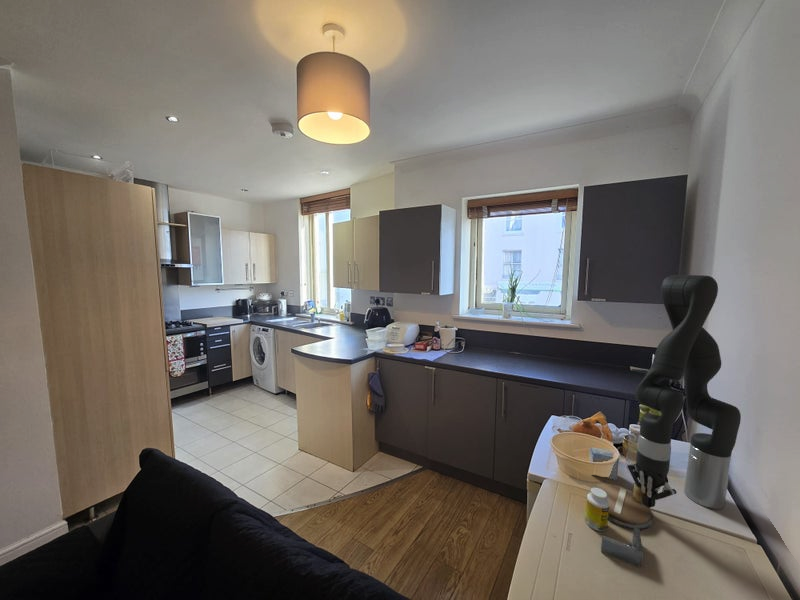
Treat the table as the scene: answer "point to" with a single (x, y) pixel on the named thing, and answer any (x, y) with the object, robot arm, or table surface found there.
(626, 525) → the base
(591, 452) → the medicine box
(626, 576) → the table surface
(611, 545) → the centring stop
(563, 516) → the table surface
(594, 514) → the supplement bottle
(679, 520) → the table surface
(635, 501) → the disc
